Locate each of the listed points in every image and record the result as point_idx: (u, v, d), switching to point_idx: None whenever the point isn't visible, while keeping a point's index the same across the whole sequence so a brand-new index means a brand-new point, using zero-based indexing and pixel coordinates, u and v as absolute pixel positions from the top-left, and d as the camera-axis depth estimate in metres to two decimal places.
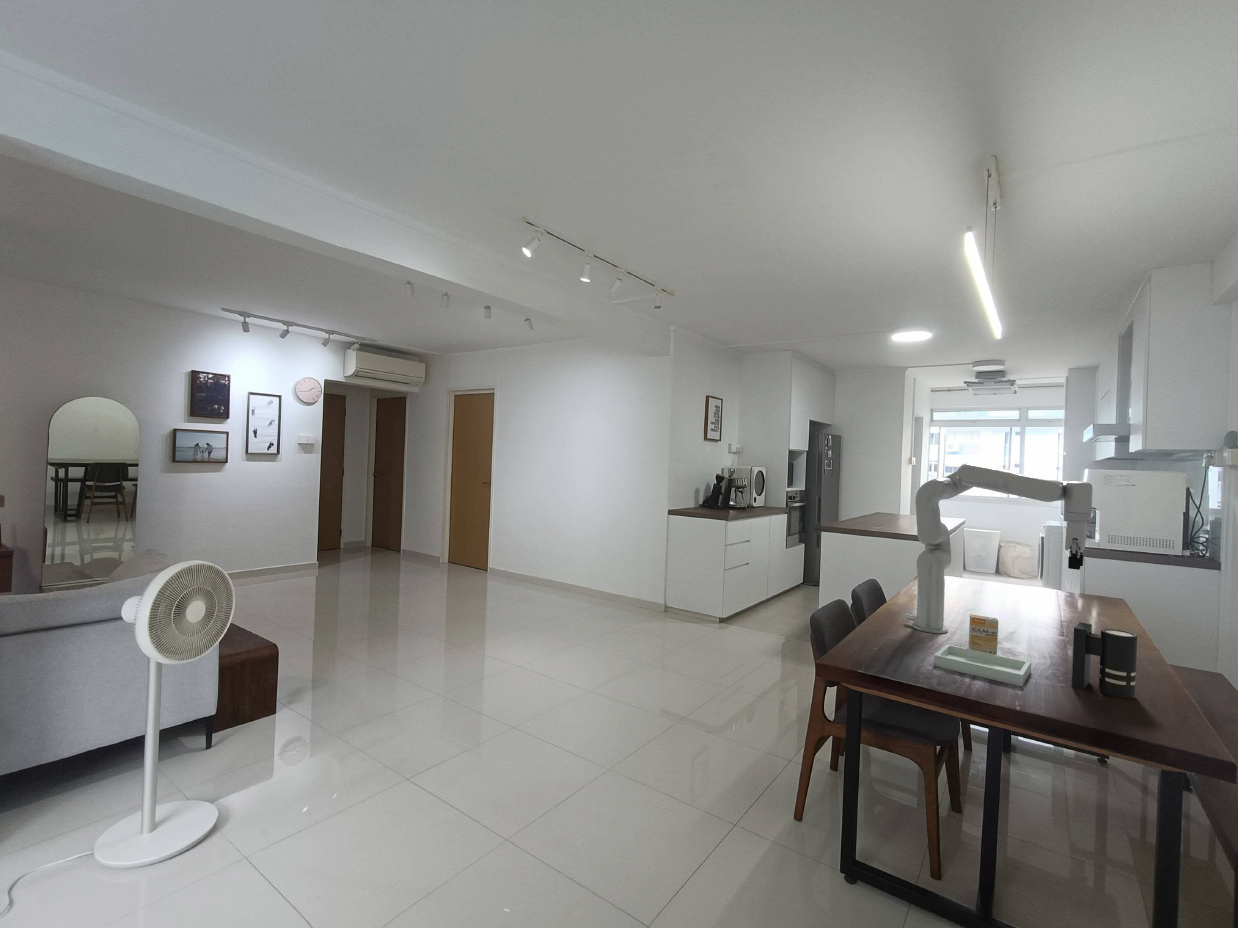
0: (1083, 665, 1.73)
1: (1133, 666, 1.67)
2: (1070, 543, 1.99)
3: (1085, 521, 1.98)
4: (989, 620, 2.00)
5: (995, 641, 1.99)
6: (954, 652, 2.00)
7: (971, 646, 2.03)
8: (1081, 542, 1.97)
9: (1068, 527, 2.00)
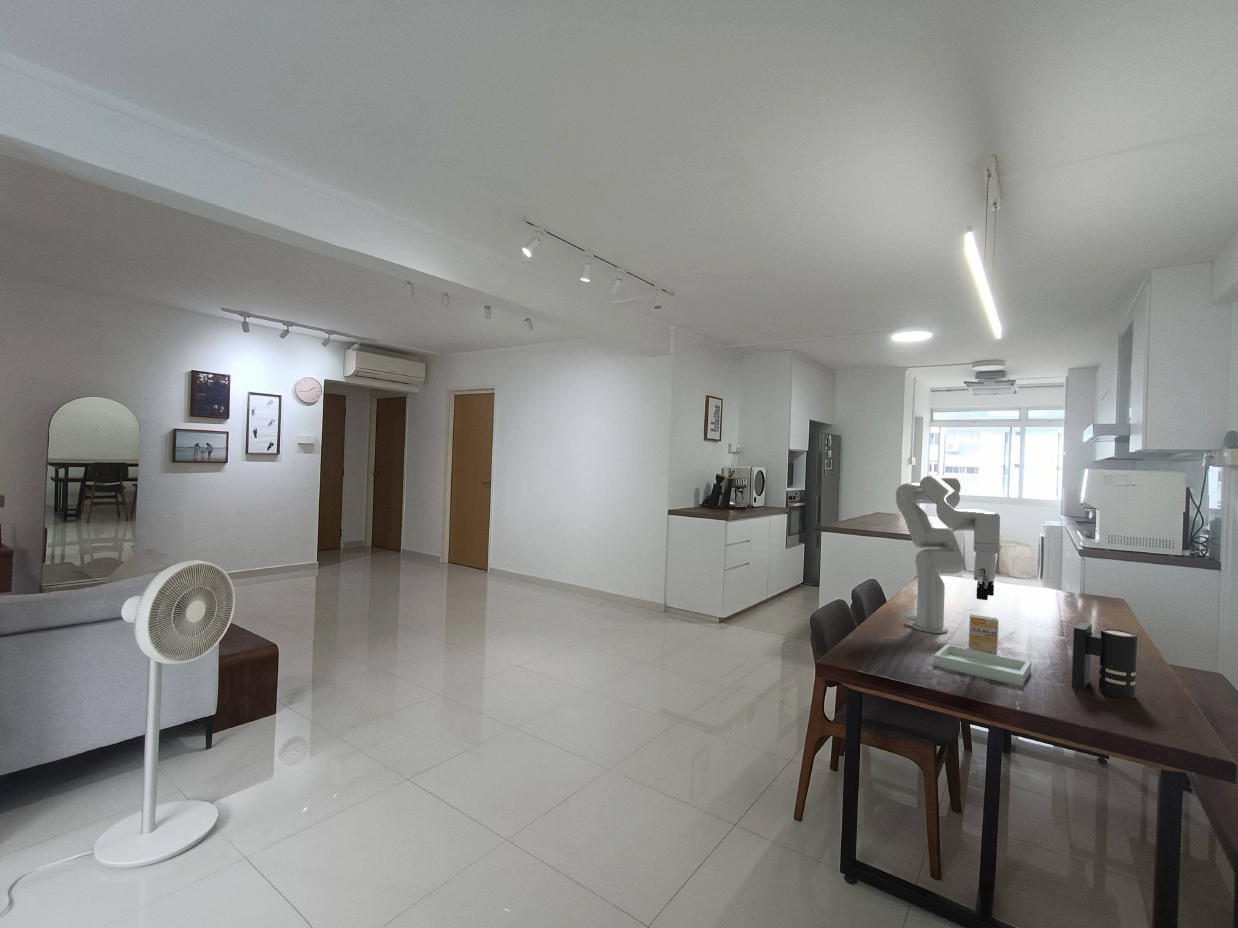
0: (1083, 665, 1.73)
1: (1133, 666, 1.67)
2: (978, 573, 2.00)
3: (992, 552, 1.99)
4: (989, 620, 2.00)
5: (995, 641, 1.99)
6: (954, 652, 2.00)
7: (971, 646, 2.03)
8: (988, 573, 1.98)
9: (976, 557, 2.00)
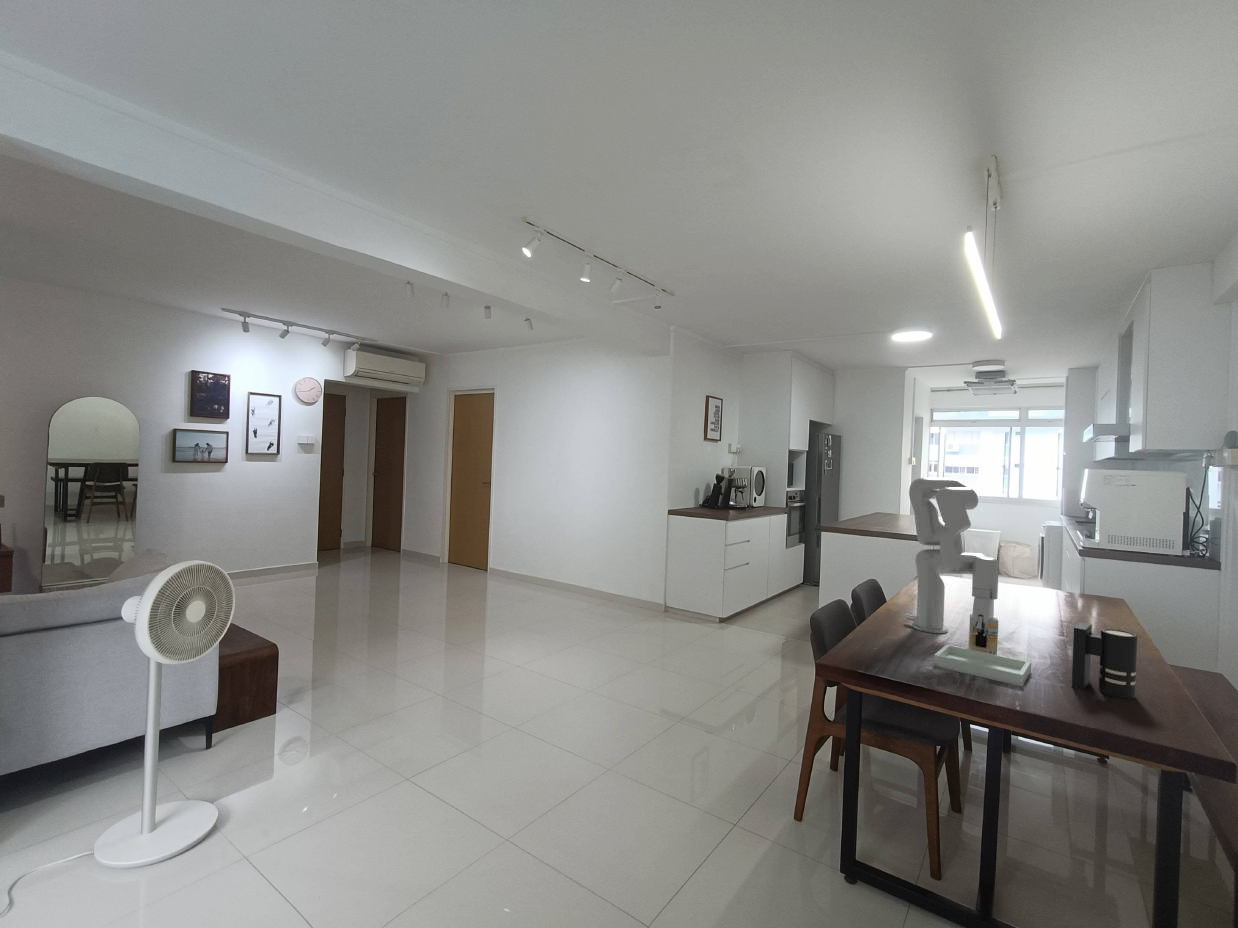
0: (1083, 665, 1.73)
1: (1133, 666, 1.67)
2: (976, 619, 2.00)
3: (991, 598, 1.99)
4: None
5: (995, 641, 1.99)
6: (954, 652, 2.00)
7: (971, 646, 2.03)
8: (986, 619, 1.98)
9: (974, 603, 2.01)
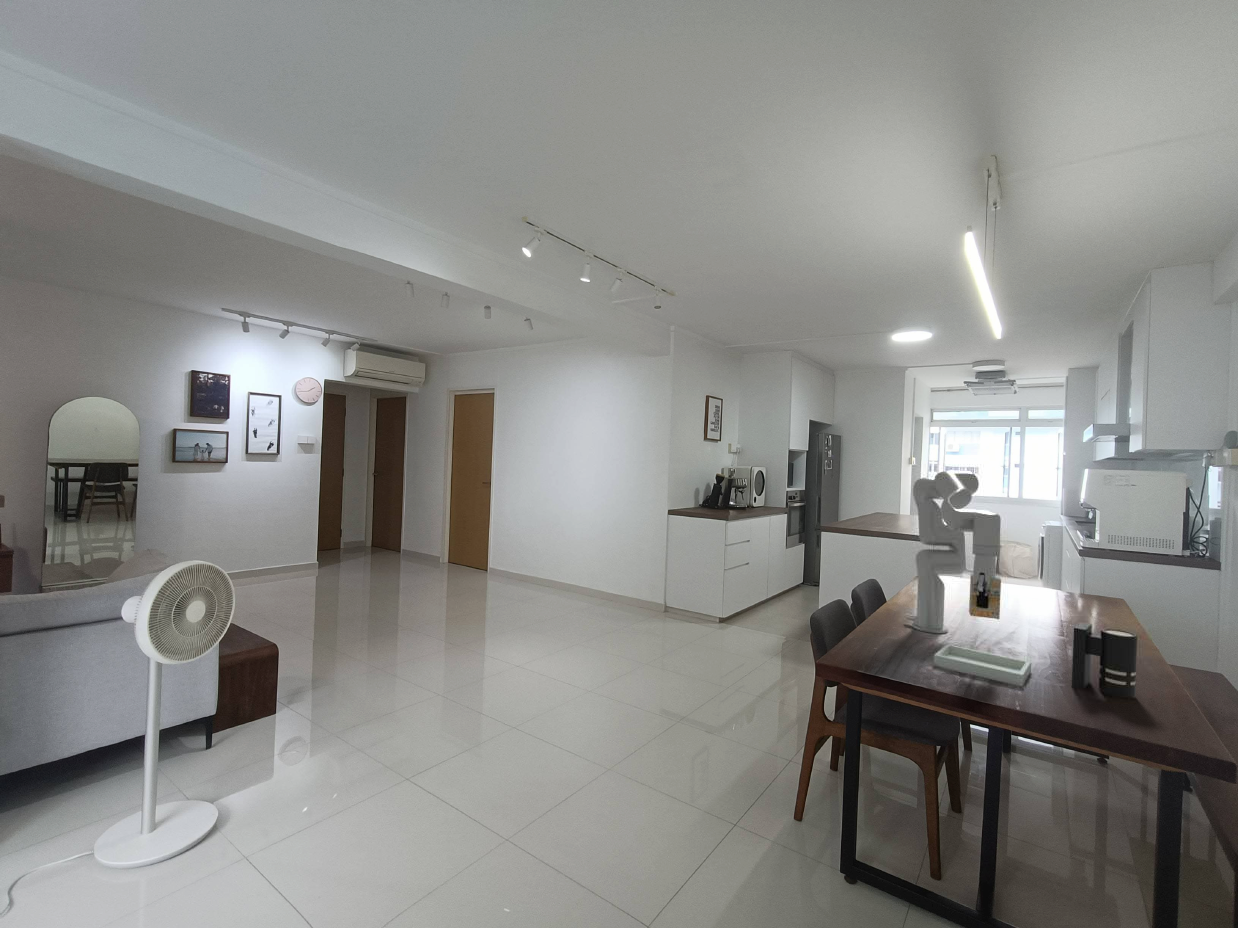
0: (1083, 665, 1.73)
1: (1133, 666, 1.67)
2: (977, 578, 1.88)
3: (992, 555, 1.87)
4: None
5: (998, 601, 1.87)
6: (954, 652, 2.00)
7: (972, 607, 1.90)
8: (988, 577, 1.86)
9: (975, 561, 1.89)
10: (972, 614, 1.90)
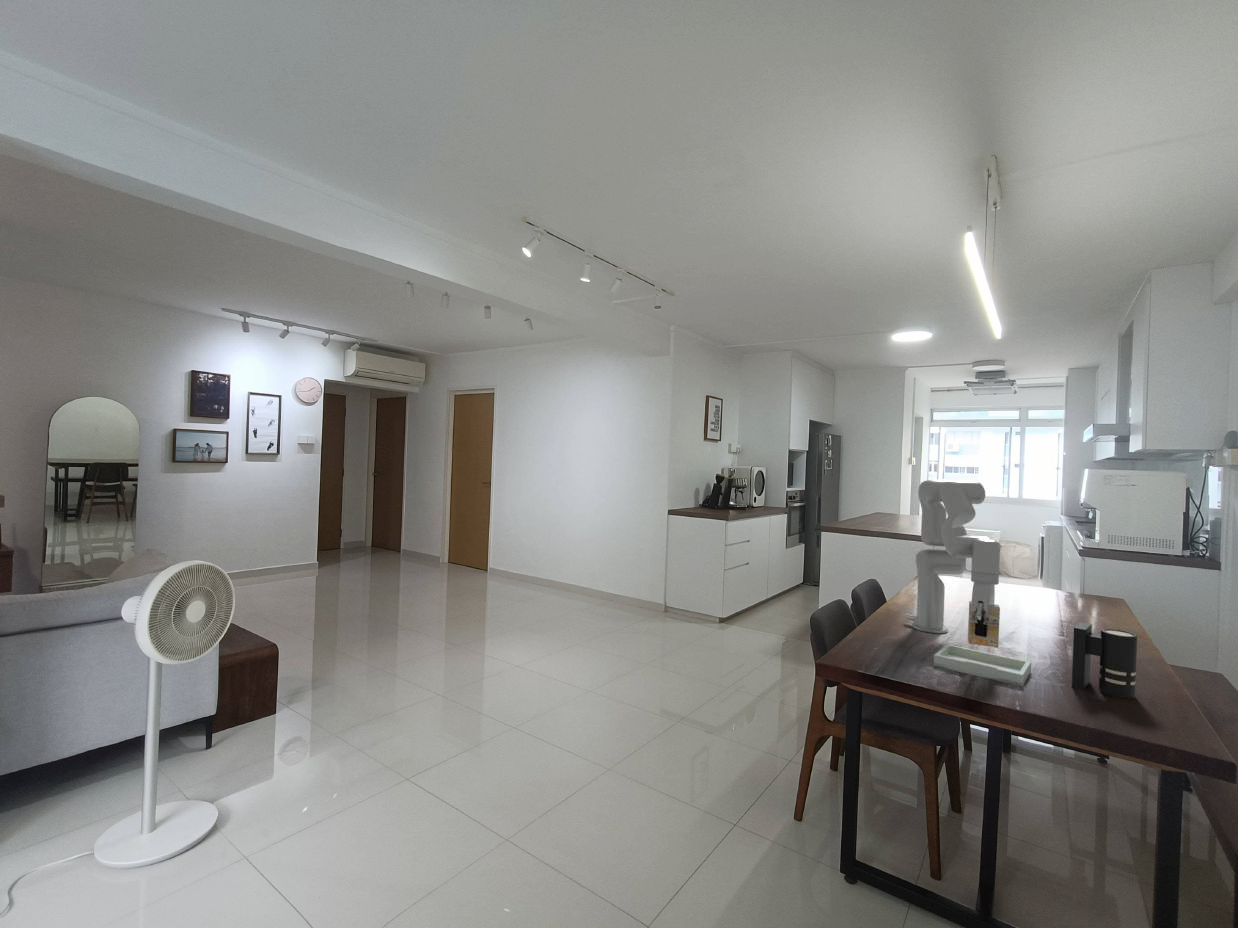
0: (1083, 665, 1.73)
1: (1133, 666, 1.67)
2: (976, 606, 1.85)
3: (991, 583, 1.84)
4: None
5: (996, 629, 1.85)
6: (954, 652, 2.00)
7: (970, 635, 1.88)
8: (986, 605, 1.83)
9: (974, 588, 1.86)
10: (970, 642, 1.88)
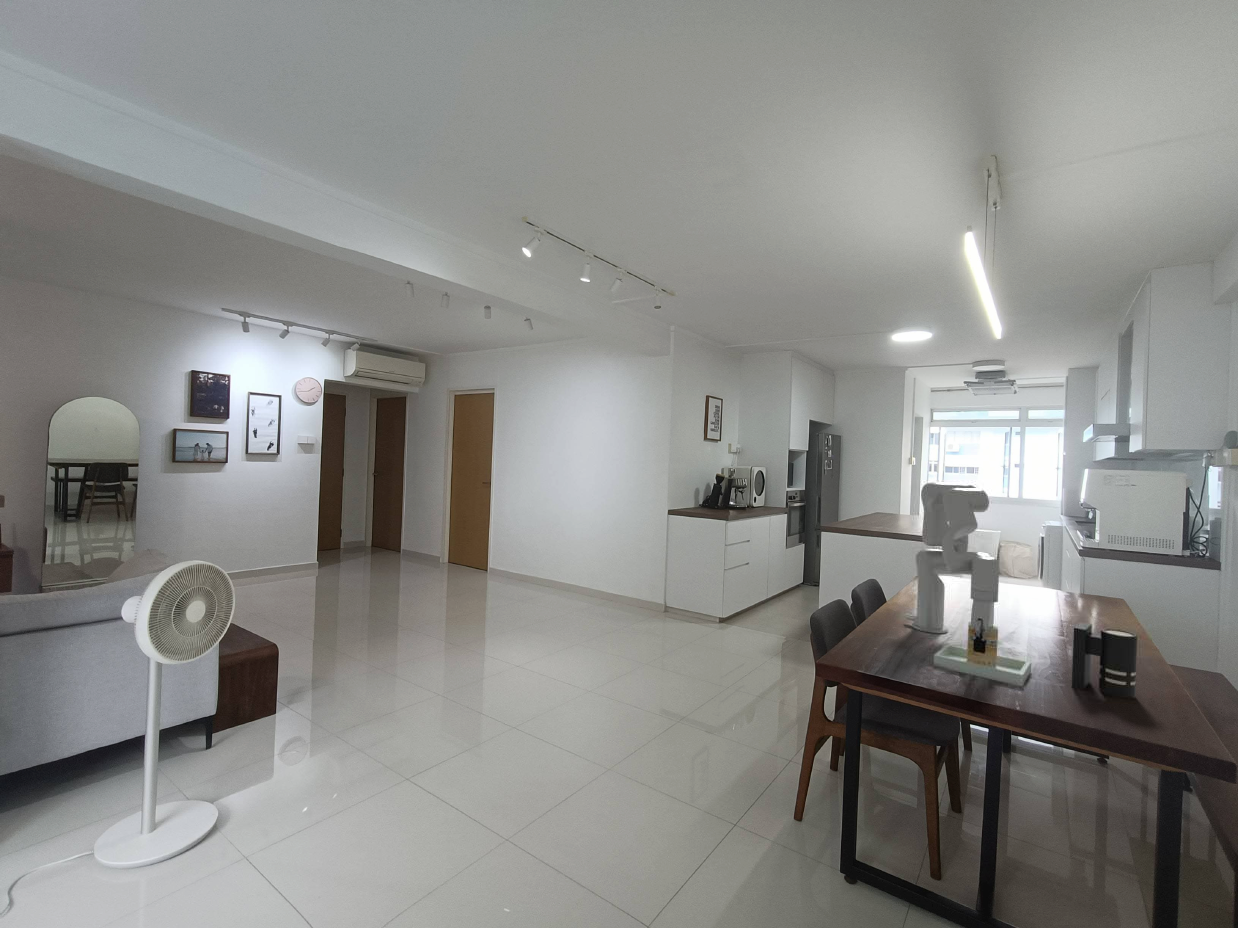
0: (1083, 665, 1.73)
1: (1133, 666, 1.67)
2: (975, 624, 1.85)
3: (991, 600, 1.84)
4: None
5: (994, 651, 1.85)
6: (954, 652, 2.00)
7: (968, 656, 1.89)
8: (986, 623, 1.84)
9: (973, 606, 1.86)
10: None
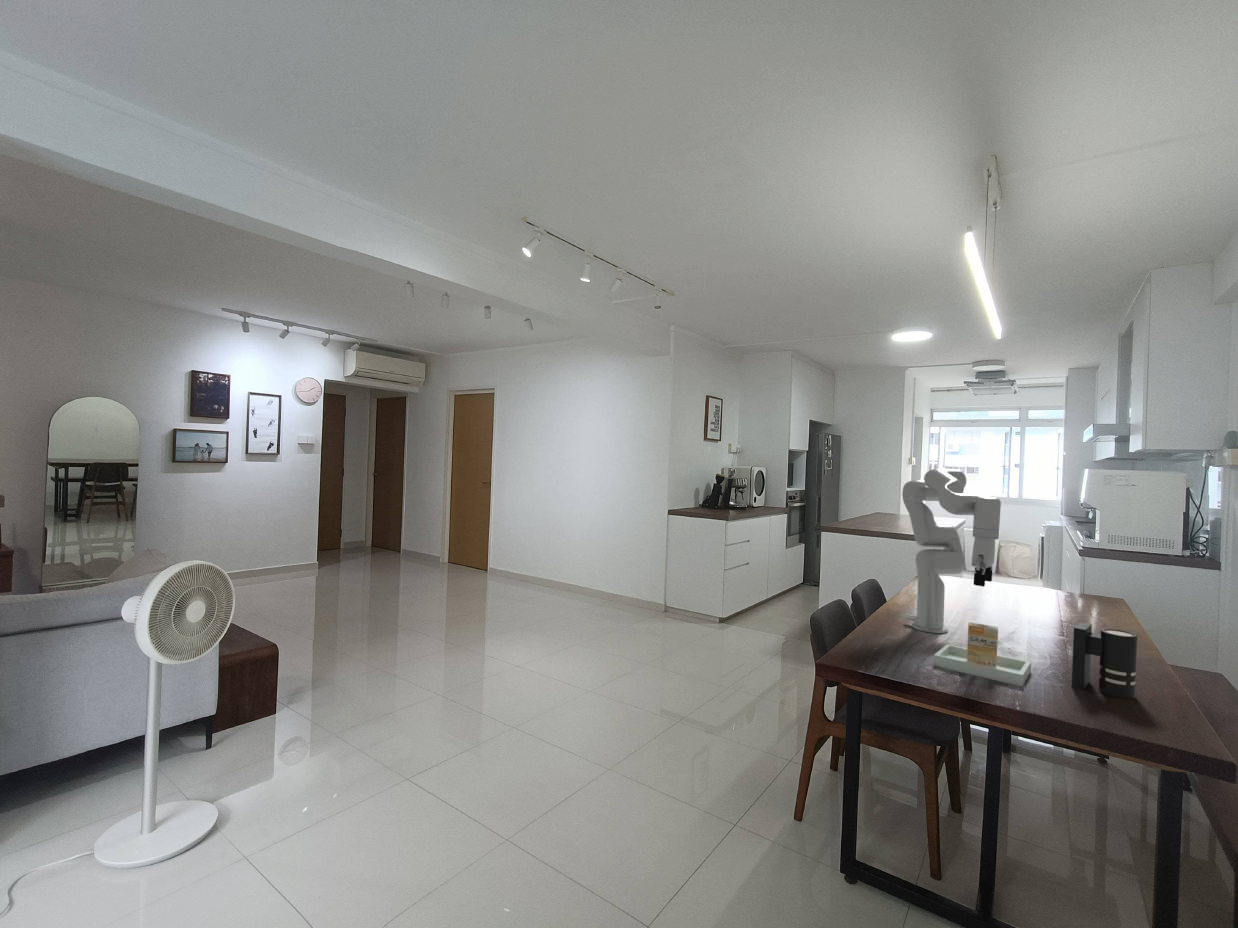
0: (1083, 665, 1.73)
1: (1133, 666, 1.67)
2: (976, 559, 1.96)
3: (991, 537, 1.95)
4: (988, 629, 1.86)
5: (994, 652, 1.85)
6: (954, 652, 2.00)
7: (968, 656, 1.89)
8: (986, 559, 1.94)
9: (975, 543, 1.97)
10: None
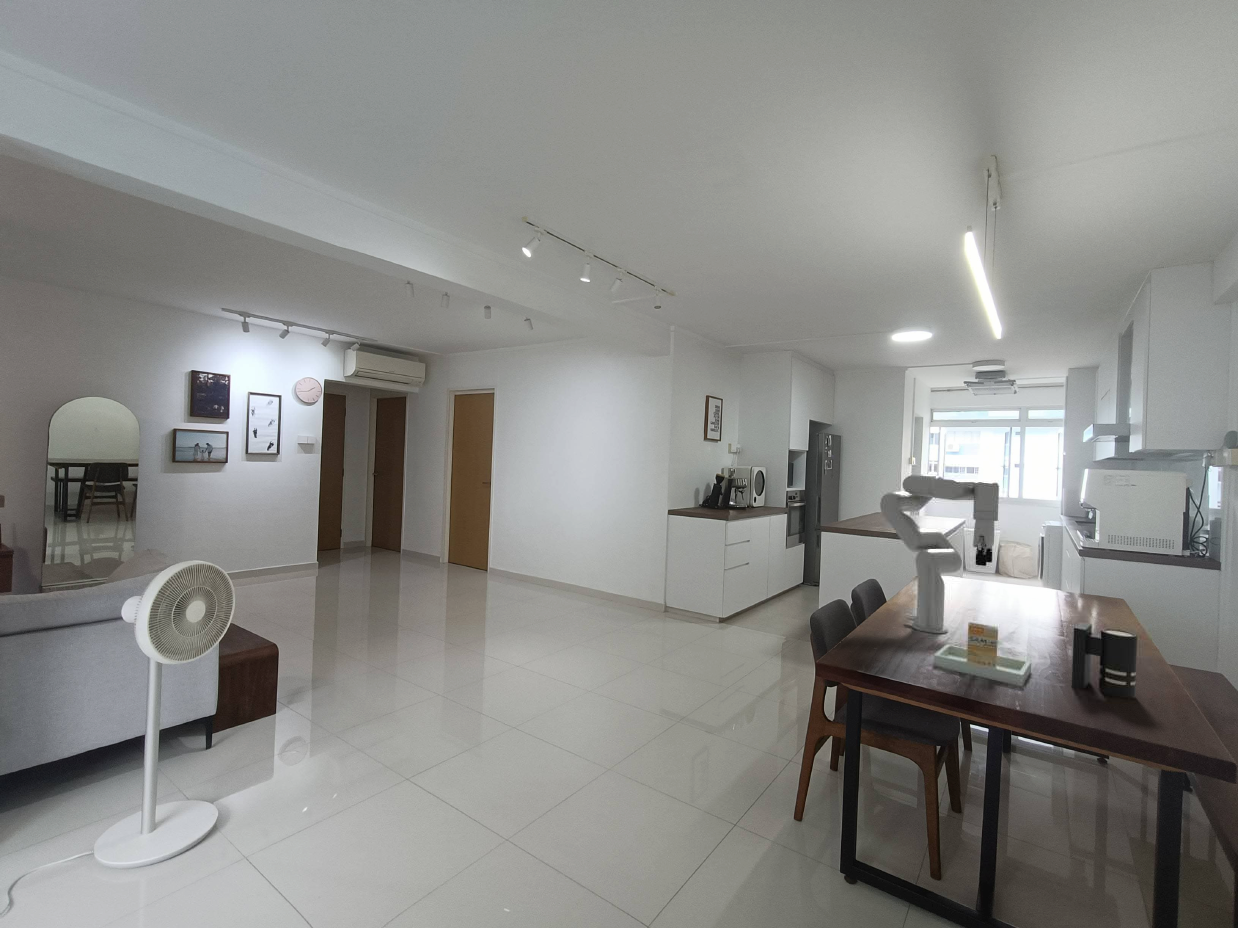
0: (1083, 665, 1.73)
1: (1133, 666, 1.67)
2: (977, 540, 2.07)
3: (991, 519, 2.06)
4: (988, 629, 1.86)
5: (994, 652, 1.85)
6: (954, 652, 2.00)
7: (968, 656, 1.89)
8: (987, 539, 2.05)
9: (976, 525, 2.08)
10: None
